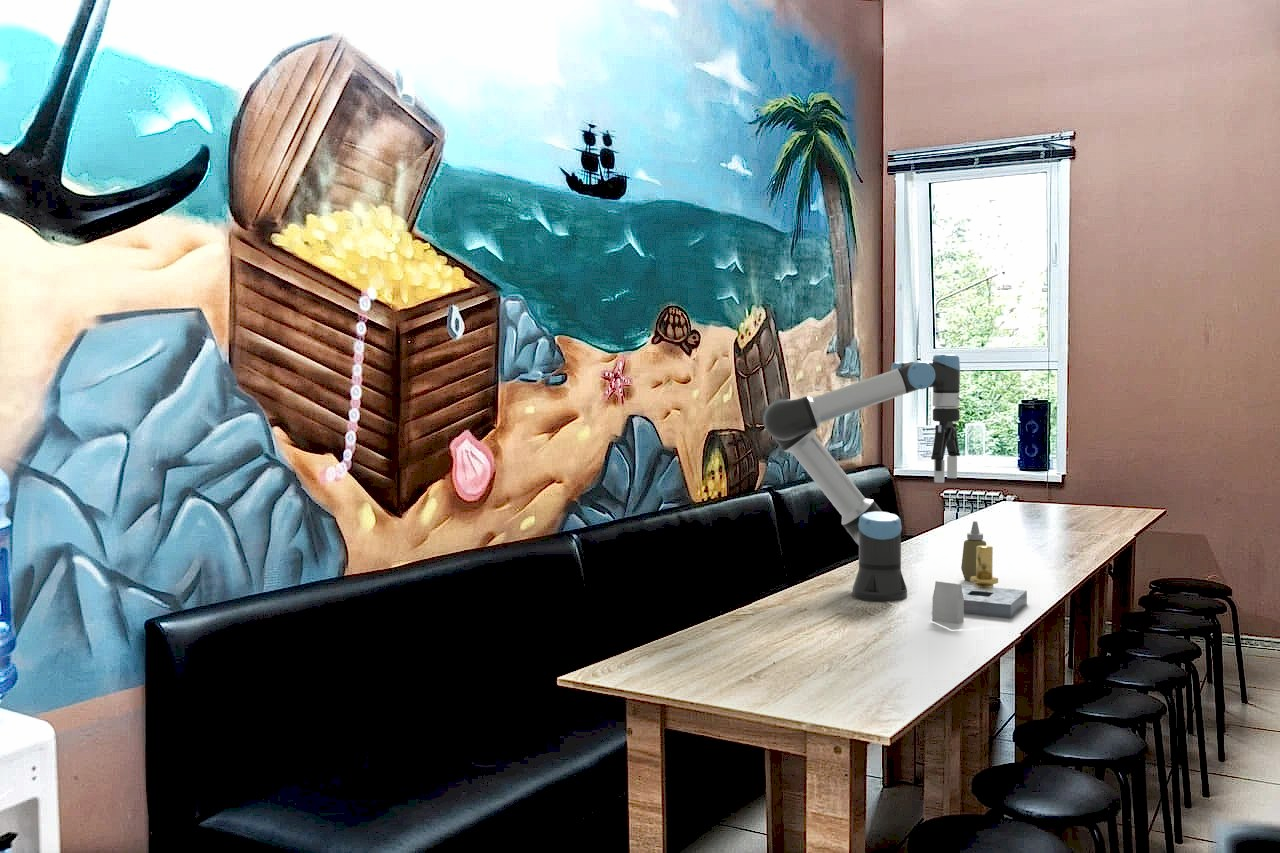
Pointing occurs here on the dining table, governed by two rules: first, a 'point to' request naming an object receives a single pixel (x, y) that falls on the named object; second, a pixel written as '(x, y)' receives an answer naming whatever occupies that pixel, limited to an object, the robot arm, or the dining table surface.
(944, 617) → the tea bag
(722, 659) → the dining table surface
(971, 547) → the squeeze bottle
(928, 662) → the dining table surface
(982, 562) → the brass door knob
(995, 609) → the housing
